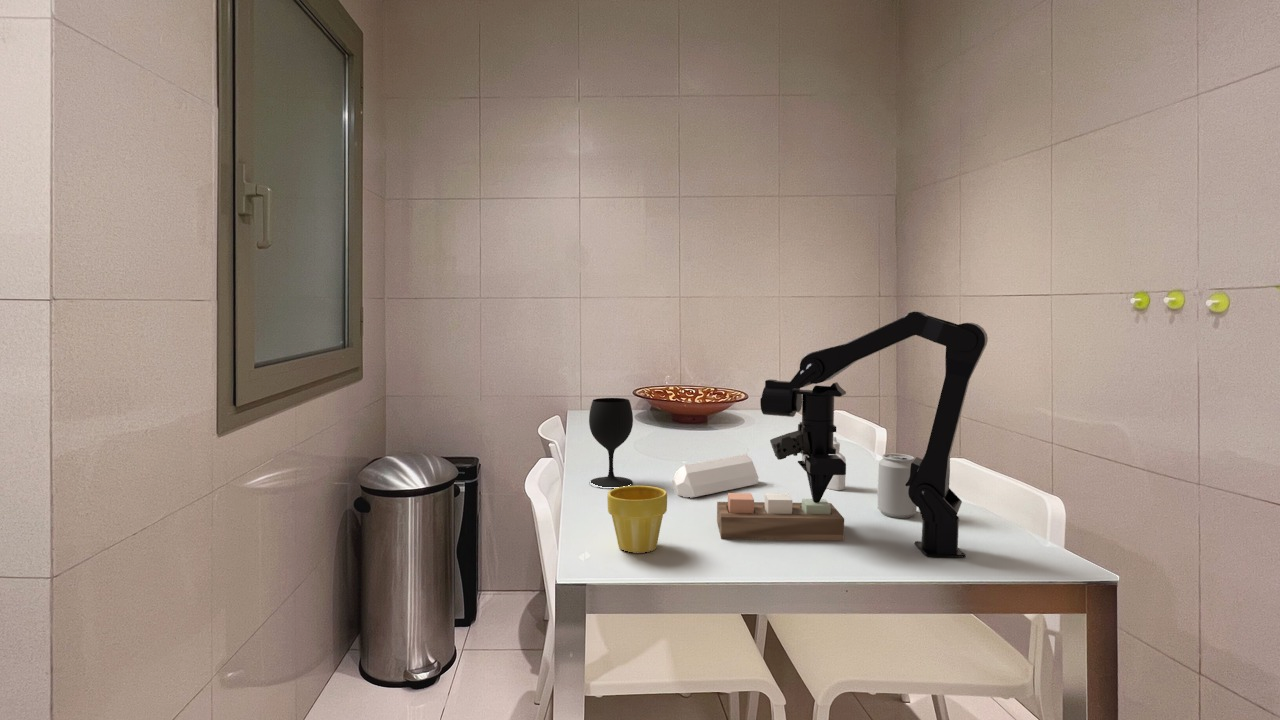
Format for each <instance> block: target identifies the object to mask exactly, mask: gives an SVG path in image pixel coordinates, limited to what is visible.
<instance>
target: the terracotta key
mask: <svg viewBox="0 0 1280 720" xmlns="http://www.w3.org/2000/svg"><path fill="white" fill-rule="evenodd" d="M727 502H728V511H729V513H754V502H755V499H754V497H753V494H752V493H751V492H750V493H748V492H745V493H744V492H727Z"/></svg>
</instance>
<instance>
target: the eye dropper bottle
mask: <svg viewBox="0 0 1280 720" xmlns="http://www.w3.org/2000/svg"><path fill="white" fill-rule="evenodd" d="M840 445H841V443H840V442H839V441H837V436H833V447H834V448H835V449H836V454H829V455H837V456H838V457H839V458H841V459H842V460H843V461H844V462H845V463H846V457H845V456H844V455H843V454H842V453H840ZM846 464H847V463H846ZM846 475H847V474H845V475H833V477H832V479H831V481H830V482H829V484H828V486H827V488H826V490H827V489H829V490H832V491H843V490H845V489H846Z"/></svg>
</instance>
